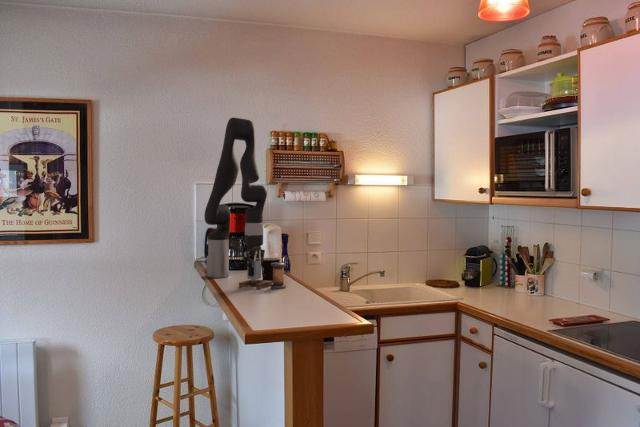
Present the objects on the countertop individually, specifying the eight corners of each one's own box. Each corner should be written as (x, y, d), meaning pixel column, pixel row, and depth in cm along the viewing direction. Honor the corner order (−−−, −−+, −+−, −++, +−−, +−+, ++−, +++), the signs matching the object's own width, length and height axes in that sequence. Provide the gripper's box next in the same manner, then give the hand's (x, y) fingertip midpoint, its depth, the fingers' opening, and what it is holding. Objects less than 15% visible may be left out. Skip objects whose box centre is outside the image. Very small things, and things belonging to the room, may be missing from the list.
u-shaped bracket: (239, 287, 220) (239, 282, 220) (252, 283, 229) (252, 279, 229) (259, 289, 216) (260, 284, 215) (272, 285, 225) (272, 280, 225)
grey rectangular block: (247, 278, 219) (247, 261, 219) (252, 277, 223) (252, 260, 223) (255, 279, 218) (255, 262, 218) (260, 278, 221) (260, 261, 221)
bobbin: (268, 288, 219) (268, 263, 218) (275, 285, 224) (275, 262, 224) (281, 289, 216) (281, 264, 216) (288, 287, 221) (288, 263, 221)
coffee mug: (278, 283, 231) (279, 260, 230) (258, 283, 231) (259, 260, 231) (281, 279, 242) (281, 257, 242) (262, 278, 243) (262, 256, 242)
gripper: (255, 232, 228) (255, 272, 228) (236, 234, 215) (236, 277, 216) (270, 233, 225) (270, 273, 225) (252, 235, 212) (252, 278, 212)
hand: (254, 275), depth 220 cm, fingers closed on grey rectangular block, 4 cm apart
